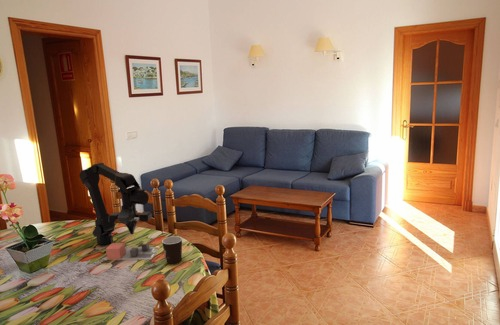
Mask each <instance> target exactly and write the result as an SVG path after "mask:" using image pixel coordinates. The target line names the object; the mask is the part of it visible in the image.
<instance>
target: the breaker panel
mask: <svg viewBox="0 0 500 325" xmlns="http://www.w3.org/2000/svg"><path fill="white" fill-rule="evenodd" d="M137 247H138V253H139V254H138V255H137V256H136V257H131V255H130V250H131V249H132V248H137ZM125 248H126V254H125V255H124V256H123V257H122V258H121V259H107V256H106V257H105V258H104V259H103V260H104V261H110V260H111V261H114V260H115V261H121V260H127V261H128V260H130V261H131V260H132V261H133V260H134V261H135V260H137V261H139V260H153V258H154V257H155V256H156V254H157V253H158V252H159V251H160V249H161V246H159V245H156V246H149V249H148V250H147V251H142V247H141V246H136V247H133V246H131V247H130V246H128V247H126V246H125Z"/></svg>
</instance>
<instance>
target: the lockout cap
mask: <svg viewBox="0 0 500 325" xmlns="http://www.w3.org/2000/svg"><path fill="white" fill-rule="evenodd" d="M125 247H126V243H125V242H113V243H111V244H110V245H107V247H106V248H105V253H106V257H107V259H121V258H122V257H123V256H124V255H125V254H126V248H125Z"/></svg>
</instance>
